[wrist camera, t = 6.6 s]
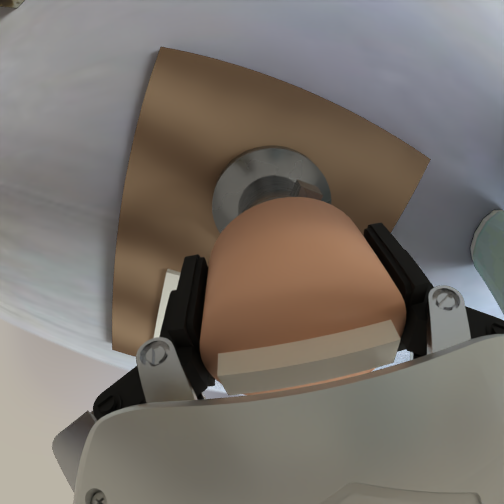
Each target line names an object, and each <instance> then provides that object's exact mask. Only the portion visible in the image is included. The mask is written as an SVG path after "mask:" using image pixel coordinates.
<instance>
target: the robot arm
mask: <svg viewBox="0 0 504 504" xmlns="http://www.w3.org/2000/svg"><path fill="white" fill-rule="evenodd" d="M364 238H365V239H366V241H367V242H368V244H369V245H370V247H371V248H372V249H373V251H374V252H375V254H376V255H377V257H378V258H379V260H380V262H381V263H382V265H383V266H384V268H385V269H386V271H387V272H388V274H389V275H390V277H391V279H392V280H393V282H394V283H395V285H396V287H397V288H398V290H399V292H400V293H401V295H402V297H403V300H404V302H405V307H406V323H405V328H404V330H403V333H402V336H401V338H400V339H401V340H400V343H399V347H398V350H397V352H398V351H401V350H404V349H407V351H410V361H407V362H404V363H401V364H397V365H394V366H391V367H387V368H384V369H380V370H377V371H373V372H369V373H365V374H361V375H358V376H353V377H349V378H345V379H341V380H336V381H332V382H327V383H322V384H317V385H312V386H307V387H301V388H296V389H290V390H284V391H277V392H270V393H263V394H255V395H247V396H238V397H228V398H215V399H206V398H205V396H204V394H203V391H204V390H206V389H207V386H215V378H214V377H213V376H212V375H211V374H210V373H209V372H208V370H207V369H206V367H205V365H204V363H203V361H202V359H201V354H200V336H201V326H202V317H203V309H204V300H205V292H206V284H207V276H208V266H207V263H206V260H205V258H204V257H200V256H199V255H198V254H197V255H191V256H186V257H185V258H184V262H183V266H182V269H181V273H180V277H179V281H178V286H177V290H172V291H171V292H170V295H169V299H168V303H167V307H166V311H165V315H164V319H163V323H162V327H161V332H160V336H159V337H156V338H153V339H150V340H148V341H146V342H145V343H144V344H143V345H141V347H140V348H139V349H138V351H137V354H136V363H137V366H136V367H135V368H133V369H132V370H131V371H129V372H128V373H127V374H126V375H124V376H123V377H122V378H121V379H119V380H118V381H117V382H115V383H114V384H113V385H112V386H110V387H109V388H108V389H106V390H105V391H104V392H102V393H101V394H100V395H99V396H98V397H97V399H96V401H95V402H94V406H93V411H92V412H91V413H90V412H89V411H87V412H85V413H84V414H83V415H82V416H80V417H79V418H78V419H77V420H75V421H74V422H73V423H72V424H70V425H69V426H68V427H67V428H65V429H64V430H63V431H61V432H60V433H59V434H58V435H57V436H56V437H55V438H54V441H53V445H52V449H53V452H54V455H55V457H56V459H57V461H58V463H59V465H60V467H61V469H62V471H63V473H64V475H65V477H66V479H67V481H68V483H69V484H70V486H71V488H72V490H73V491H74V503H73V504H504V321H503V320H501V319H499V318H496V317H494V316H491V315H488V314H485V313H482V312H480V311H477V310H474V309H471V308H468V307H466V306H465V303H464V299H463V297H462V295H461V294H460V293H459V291H457V290H456V289H454V288H452V287H450V286H445V285H441V286H436V287H433V285H432V284H431V282H430V281H429V280H428V278H427V277H426V276H425V274H424V273H423V272H422V270H421V269H420V268H419V266H418V265H417V264H416V262H415V261H414V260H413V258H412V257H411V256H410V255H409V253H408V252H407V251H406V250H404V249H403V248H402V246H401V245H400V244H399V243H398V241H397V240H396V239H395V238H394V237H393V235H392V234H391V233H390V232H389V231H388V229H387V228H386V227H385V226H384V225H383V223H375V224H369V225H368V227H367V228H366V229H364Z"/></svg>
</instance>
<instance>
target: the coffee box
mask: <svg viewBox="0 0 504 504" xmlns="http://www.w3.org/2000/svg"><path fill="white" fill-rule="evenodd" d="M23 1H24V0H0V7H10V8H18V7H19V6H20V5H21V4H22V2H23Z"/></svg>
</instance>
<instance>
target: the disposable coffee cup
mask: <svg viewBox="0 0 504 504" xmlns="http://www.w3.org/2000/svg"><path fill="white" fill-rule="evenodd" d="M471 256H472V260H473V261H474V266H475V268H476V269H477V271H478V272H479V274H480V275H481V277H482V278H483V280H484V282H485V283H486V285H487V286H488V288H489V290H490V291H491V293H492V295H493V296H494V298H495V300H496V301H497V303H498V305H499V307H500V309H501V310H502V312H503V314H504V210H493V211H492V212H491V213H490V214H489V215H487V216H486V217H485V218H484V219H483V220H482V222H481V223H480V225H479V227H478V228H477V230H476V231H475V233H474V237H473V241H472V244H471Z"/></svg>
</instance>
